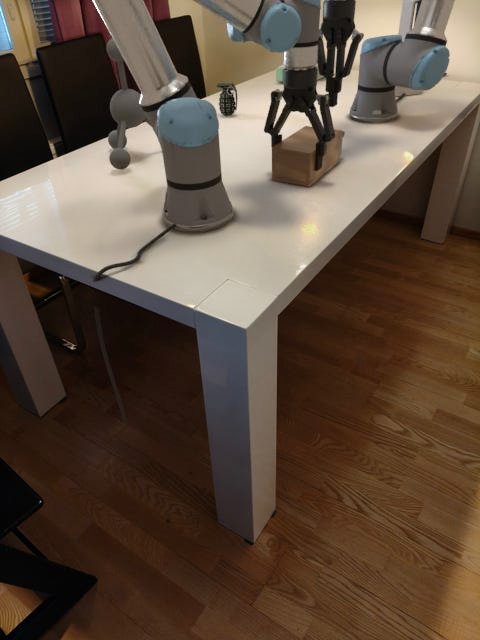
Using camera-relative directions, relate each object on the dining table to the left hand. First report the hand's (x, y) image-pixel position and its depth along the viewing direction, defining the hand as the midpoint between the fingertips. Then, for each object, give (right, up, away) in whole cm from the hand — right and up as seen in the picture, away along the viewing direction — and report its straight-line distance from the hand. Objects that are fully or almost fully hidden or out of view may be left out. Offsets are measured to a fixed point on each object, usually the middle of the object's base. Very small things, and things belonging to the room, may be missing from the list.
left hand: (297, 165), depth 121 cm
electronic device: (+46, +46, +61) cm, 89 cm away
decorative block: (+13, +65, +88) cm, 110 cm away
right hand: (+10, +18, +7) cm, 22 cm away
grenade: (-18, +33, +49) cm, 62 cm away
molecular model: (-42, +9, +20) cm, 48 cm away
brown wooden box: (+3, 0, +5) cm, 6 cm away
